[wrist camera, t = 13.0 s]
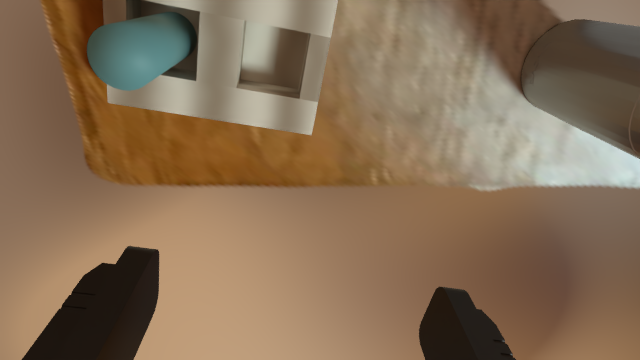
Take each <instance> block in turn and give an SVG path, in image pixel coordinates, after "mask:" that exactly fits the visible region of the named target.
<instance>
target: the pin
mask: <svg viewBox="0 0 640 360" xmlns="http://www.w3.org/2000/svg"><path fill="white" fill-rule="evenodd" d="M196 43H197V35H196V31H195V29H194V27H193V25H192V23H191V22H190V21H189V20H188V19H187V18H186V17H184V16H183V15H181V14H179V13H176V12H164V13H160V14H155V15H150V16H145V17H140V18H135V19H130V20H126V21H121V22H116V23H111V24H106V25H103V26H101V27H99V28H98V29H96V30H95V31H94V32H93V33H92V35H91V36H90V38H89V40H88V44H87V56H88V60H89V63H90V65H91V67H92V69H93V71H94V72H95V74H96V75H97V76H98V77H99V78H100V79H101V80H102V81H103V82H105V83H106V84H108V85H109V86H111V87H113V88H116V89H120V90H126V91H131V90H136V89H139V88H142V87H143V86H145V85H146V84H148V83H149V82H151V81H152V80H154V79H155V78H157V77H158V76H160V75H161V74H162V73H164V72H165V71H167V70H168V69H170V68H171V67H173V66H174V65H176V64H177V63H179V62H180V61H182V60H183V59H185V58H186V57H187V56H189V55H190V54H191V53H192V52H193V51H194V49H195V47H196Z"/></svg>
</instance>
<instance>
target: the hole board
mask: <svg viewBox="0 0 640 360" xmlns="http://www.w3.org/2000/svg"><path fill="white" fill-rule="evenodd" d="M337 3H338V0H103V17H104V25H106V24H111V23H116V22H121V21H126V20H130V19H135V18H140V17H145V16H150V15H155V14H160V13H164V12H176V13H179V14H181V15H183V16H184V17H186V18H187V19H188V20H189V21H190V22H191V23H192V25H193V27H194V29H195V31H196V35H197V43H196V47H195V49H194V51H193V52H192V53H191V54H190V55H189V56H187V57H186V58H185V59H183V60H182V61H180V62H179V63H177V64H176V65H174V66H173V67H171V68H170V69H168V70H167V71H165V72H164V73H162V74H161V75H160V76H158V77H157V78H155V79H154V80H152V81H151V82H149V83H148V84H146V85H145V86H143V87H142V88H139V89H136V90H131V91H126V90H120V89H116V88H113V87H111V86H109V85H108V84H107V95H108V103H112V104H118V105H125V106H131V107H137V108H144V109H150V110H156V111H163V112H169V113H175V114H182V115H188V116H194V117H201V118H207V119H213V120H219V121H226V122H232V123H238V124H245V125H251V126H257V127H264V128H270V129H276V130H283V131H289V132H295V133H302V134H308V135H312V130H313V125H314V120H315V115H316V110H317V105H318V100H319V95H320V90H321V84H322V79H323V74H324V69H325V64H326V59H327V54H328V49H329V44H330V39H331V34H332V29H333V23H334V18H335V13H336V8H337Z"/></svg>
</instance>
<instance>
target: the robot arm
mask: <svg viewBox="0 0 640 360" xmlns="http://www.w3.org/2000/svg"><path fill="white" fill-rule="evenodd" d="M521 81H522V89H523V92H524V94H525V96H526V98H527V99H528V101H529V102H530V103H531V104H533V105H534V106H535V107H537V108H539V109H541V110H543V111H545V112H547V113H549V114H551V115H553V116H555V117H557V118H559V119H560V120H562V121H564V122H566V123H568V124H570V125H572V126H574V127H576V128H578V129H580V130H582V131H584V132H586V133H588V134H590V135H592V136H594V137H596V138H598V139H600V140H603V141H605V142H607V143H609V144H611V145H613V146H615V147H617V148H619V149H621V150H623V151H625V152H627V153H629V154H631V155H633V156H635V157H637V158H639V159H640V27H639V26H630V25H622V24H616V23H608V22H600V21H592V20H571V21H567V22H564V23H561V24H559V25H557V26H555V27H553V28H552V29H550V30H549V31H548V32H546V33H545V34H544V35H543V36H542V37H541V38H540V39H539V40H538V41H537V42H536V43H535V45H534V46H533V47H532V49H531V50H530V52H529V54H528V56H527V58H526V60H525V63H524V66H523V69H522V77H521ZM158 291H159V251H158V250H156V249H148V248H140V247H132V246H128V247H127V248H126V249H125V250H124V252H123V254H122V255H121V257H120V258H119V260H118V261H117V263H116V264H107V263H102V264H100V265H99V266H97V267H96V268H94V269H93V270H91V271H90V272H88V273H87V274H85V275H84V276H83V277H82V279H81V280H80V281H79V283H78V284H77V285H76V287H75V288H74V289H73V291H72V294H71V295H69V296H68V298H67V299H66V300H65V302H64V303H63V305H62V307H61V309H59V310H58V311H57V313H56V314H55V316H54V317H53V318H52V319H51V321H50V322H49V323H48V325H47V326H46V328H45V329H44V330H43V332H42V333H41V334H40V336H39V337H38V338H37V340H36V341H35V342H34V344H33V345H32V347H31V348H30V349H29V351H28V352H27V353H26V355H25V356H24V358H23V359H22V360H133V359H134V357H135V355H136V353H137V351H138V348H139V346H140V344H141V341H142V339H143V337H144V335H145V332H146V330H147V328H148V326H149V323H150V321H151V319H152V317H153V314H154V311H155V308H156V304H157V299H158ZM419 339H420V345H421V348H422V351H423V354H424V357H425V360H516V359H515V358H513V356H512V352H511V351H510V349H509V347H508V345H507V344H505V340H504V338H503V337H502V335H501V333H500V331H499V330H498V328H497V326H496V324H494V322H493V321H492V320H491V319H490V318H489V317H488V316H487V315H486V314H485V313H484V312H483V311H482V310H479V309H476V307H475V305H474V304H473V302H472V300H471V298H470V296H469V294H468V293H467V292H466V291H465V290H461V289H454V288H445V287H438V288H437V289H436V290H435V292H434V294H433V297H432V299H431V301H430V304H429V306H428V308H427V310H426V312H425V314H424V317H423V319H422V321H421V324H420V329H419Z"/></svg>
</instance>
